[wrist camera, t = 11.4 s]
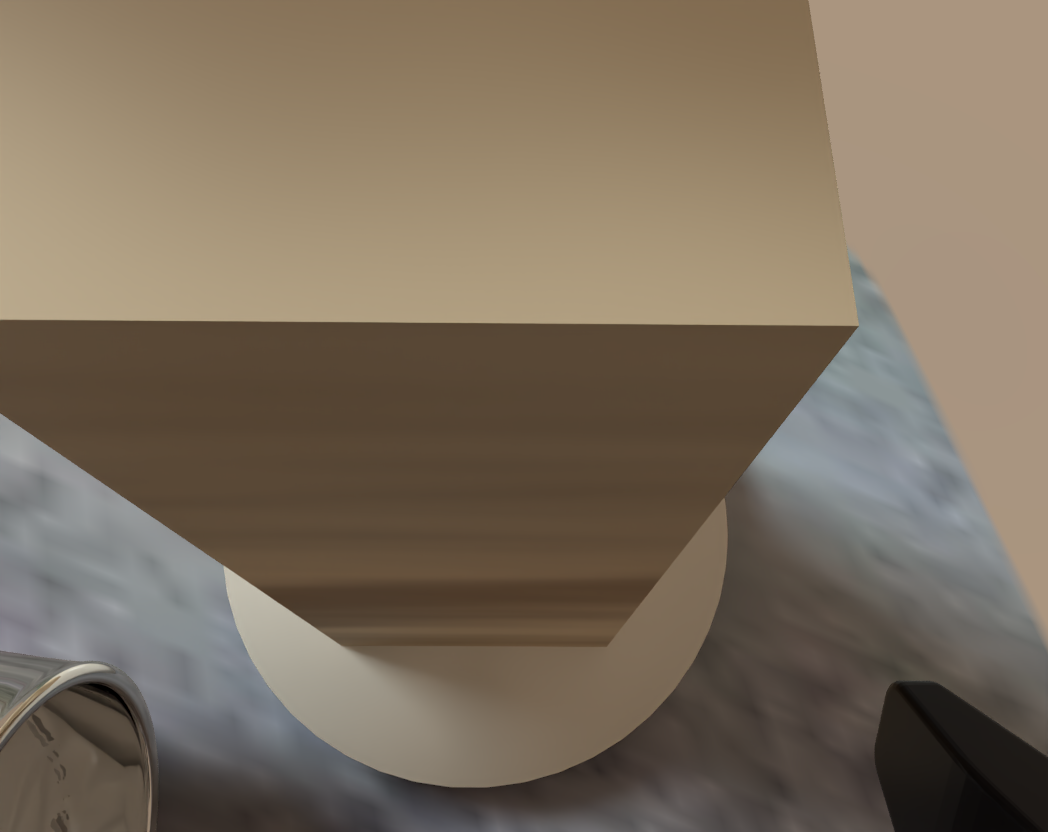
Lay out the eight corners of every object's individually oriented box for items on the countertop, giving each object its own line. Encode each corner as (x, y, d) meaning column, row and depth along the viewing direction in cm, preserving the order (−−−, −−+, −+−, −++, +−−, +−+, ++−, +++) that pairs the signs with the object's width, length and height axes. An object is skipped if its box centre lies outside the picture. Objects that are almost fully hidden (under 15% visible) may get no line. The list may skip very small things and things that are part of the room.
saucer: (813, 553, 18) (832, 540, 17) (443, 909, 16) (438, 919, 15) (504, 245, 21) (504, 215, 20) (148, 506, 19) (124, 489, 18)
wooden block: (606, 647, 16) (859, 326, 4) (341, 645, 16) (-139, 317, 4) (599, 402, 18) (761, -297, 6) (360, 400, 18) (60, -307, 6)
